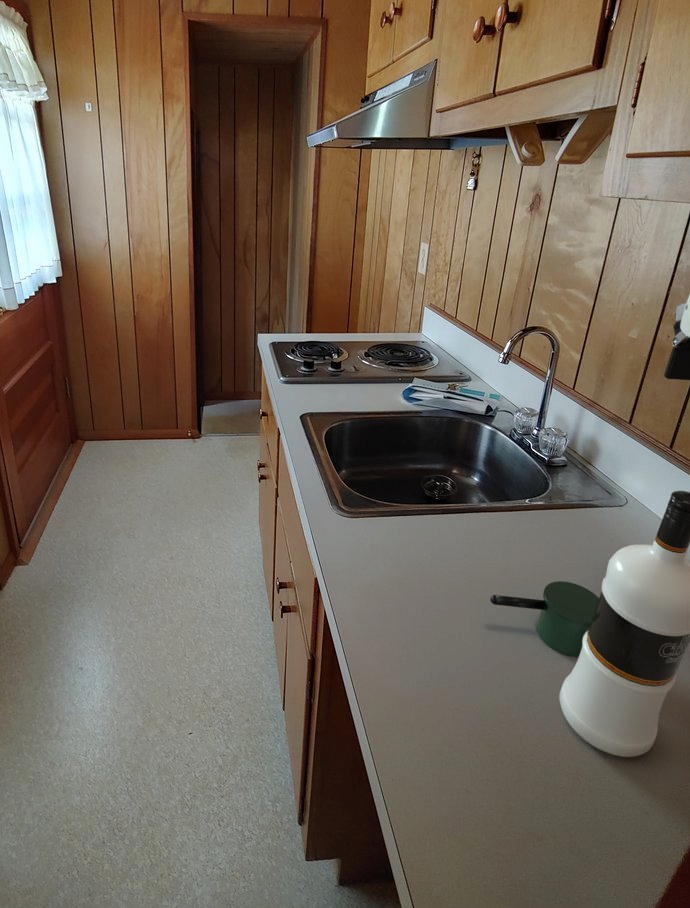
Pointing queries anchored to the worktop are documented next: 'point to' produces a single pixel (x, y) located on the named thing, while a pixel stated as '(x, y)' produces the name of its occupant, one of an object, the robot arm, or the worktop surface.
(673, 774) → the worktop surface
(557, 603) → the pot
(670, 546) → the vodka
